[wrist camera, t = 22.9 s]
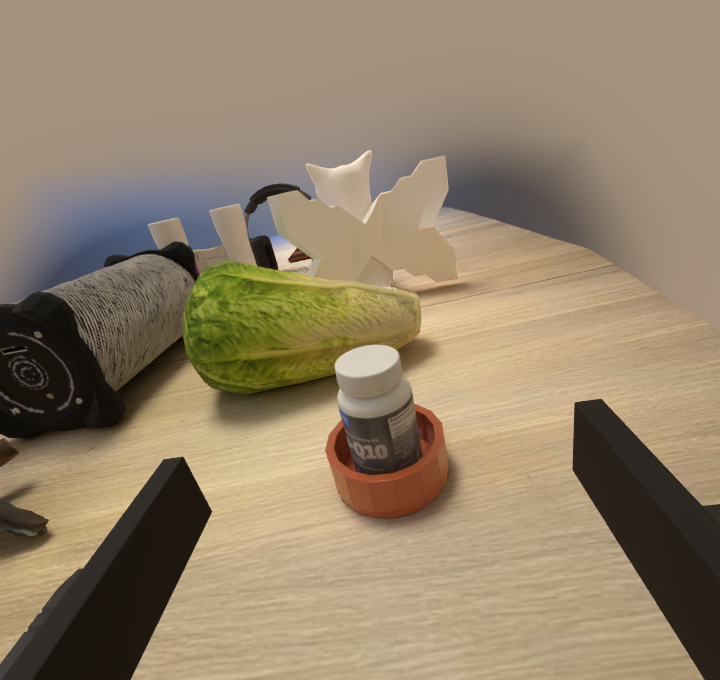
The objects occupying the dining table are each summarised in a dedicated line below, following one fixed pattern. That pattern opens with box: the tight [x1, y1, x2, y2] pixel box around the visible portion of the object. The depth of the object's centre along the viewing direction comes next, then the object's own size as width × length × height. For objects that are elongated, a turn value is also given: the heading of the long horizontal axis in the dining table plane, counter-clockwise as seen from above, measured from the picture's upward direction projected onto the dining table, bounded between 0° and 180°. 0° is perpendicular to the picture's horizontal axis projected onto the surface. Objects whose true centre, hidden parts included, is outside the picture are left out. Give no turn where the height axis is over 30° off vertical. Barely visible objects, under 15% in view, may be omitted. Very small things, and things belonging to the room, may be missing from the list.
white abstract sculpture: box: [267, 150, 458, 290], centre depth 57 cm, size 25×21×21 cm
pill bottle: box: [335, 345, 423, 475], centre depth 24 cm, size 5×5×8 cm
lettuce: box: [183, 260, 421, 395], centre depth 40 cm, size 14×24×14 cm
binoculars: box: [148, 204, 257, 273], centre depth 70 cm, size 17×5×18 cm, turn 88°
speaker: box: [0, 241, 199, 438], centre depth 49 cm, size 15×28×15 cm, turn 176°
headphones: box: [244, 184, 313, 270], centre depth 88 cm, size 22×6×20 cm, turn 79°
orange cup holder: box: [325, 404, 448, 518], centre depth 25 cm, size 8×8×3 cm
